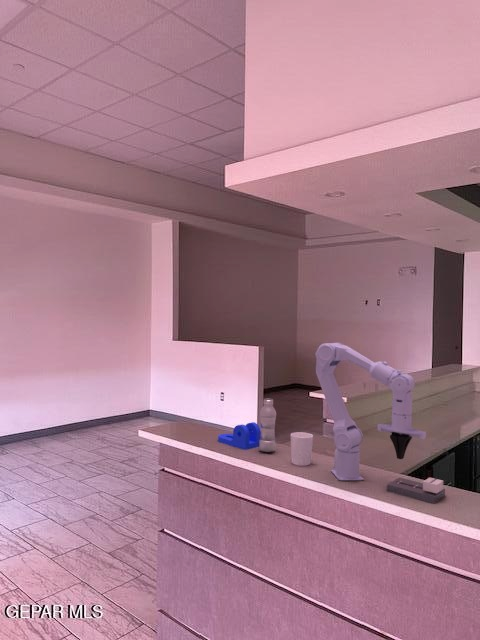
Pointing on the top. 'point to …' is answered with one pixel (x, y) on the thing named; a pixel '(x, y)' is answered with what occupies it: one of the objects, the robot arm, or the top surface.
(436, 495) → the strip
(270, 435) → the plastic bottle
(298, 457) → the white cup
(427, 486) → the fader knob
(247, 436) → the bracket
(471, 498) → the top surface
